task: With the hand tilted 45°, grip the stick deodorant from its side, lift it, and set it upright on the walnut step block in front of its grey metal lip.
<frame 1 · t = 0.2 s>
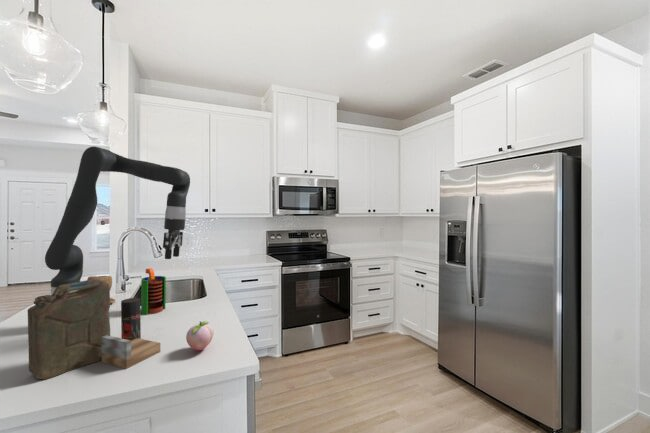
hand: (172, 257, 126), 28 cm above the worktop, tool pointing down, fingers open, 8 cm apart
step: (132, 356, 101), on the worktop
motor: (152, 311, 146), on the worktop
canister: (72, 366, 95), on the worktop
deodorant: (131, 341, 113), on the worktop
stone cup: (96, 305, 155), on the worktop
decorative fruit: (199, 351, 106), on the worktop
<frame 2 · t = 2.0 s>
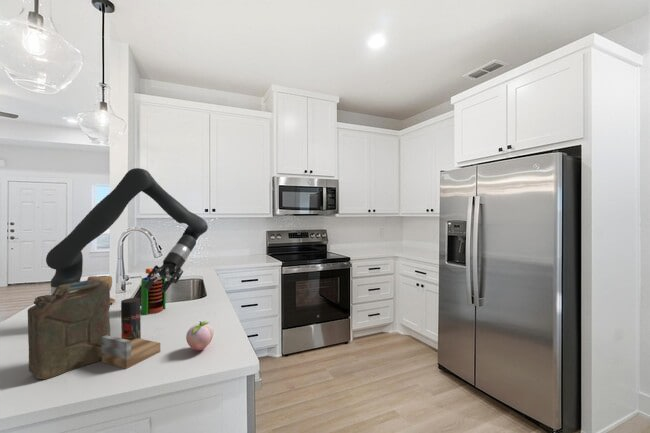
hand: (154, 289, 122), 16 cm above the worktop, tool tilted 45°, fingers open, 8 cm apart
nothing on the worktop moved.
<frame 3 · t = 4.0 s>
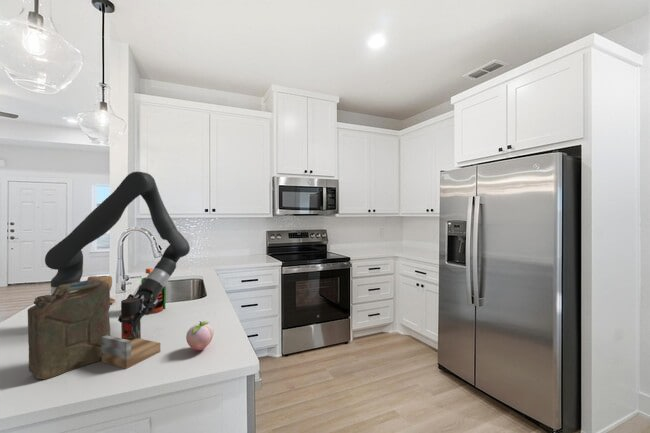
hand: (126, 322, 111), 7 cm above the worktop, tool tilted 45°, fingers closed on deodorant, 6 cm apart
deodorant: (131, 341, 113), on the worktop, touching gripper
everything else where it was.
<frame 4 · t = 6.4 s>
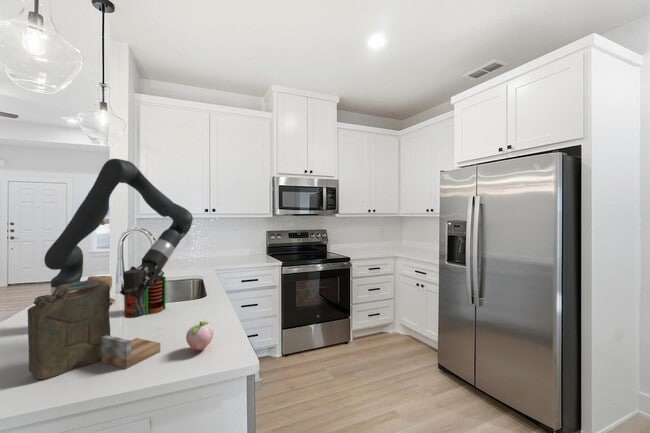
hand: (129, 295, 103), 20 cm above the worktop, tool tilted 45°, fingers closed on deodorant, 6 cm apart
deodorant: (135, 315, 105), point 12 cm above the worktop, touching gripper
everything else where it was.
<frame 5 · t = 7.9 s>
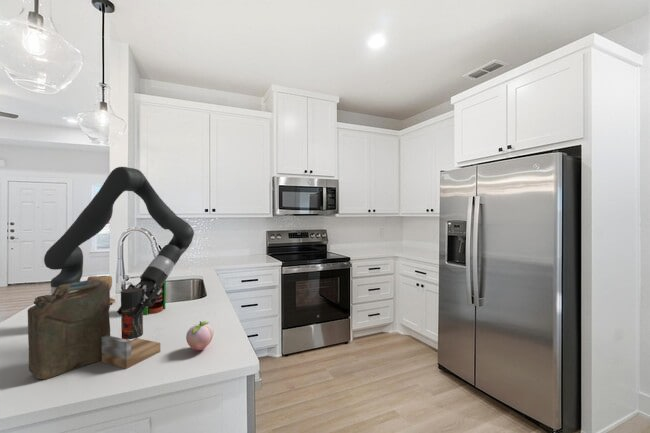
hand: (127, 315, 99), 14 cm above the worktop, tool tilted 45°, fingers closed on deodorant, 6 cm apart
deodorant: (132, 336, 101), point 7 cm above the worktop, touching gripper
everything else where it was.
when the fingers open (12 cm above the worktop, at t = 9.0 s): deodorant drops 1 cm, resting on step.
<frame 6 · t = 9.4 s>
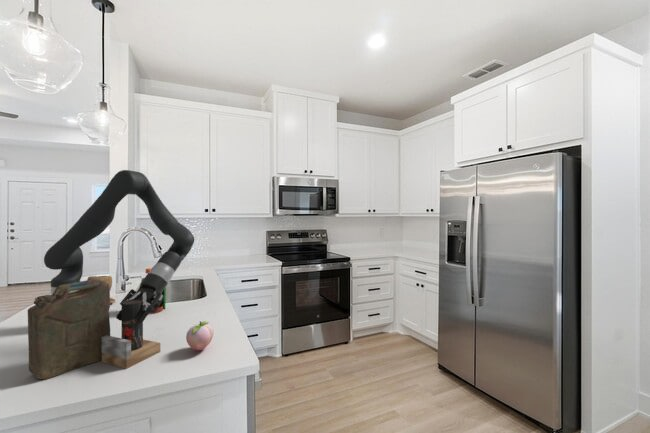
hand: (127, 321, 100), 12 cm above the worktop, tool tilted 45°, fingers open, 8 cm apart
deodorant: (132, 347, 101), point 3 cm above the worktop, touching step
everything else where it was.
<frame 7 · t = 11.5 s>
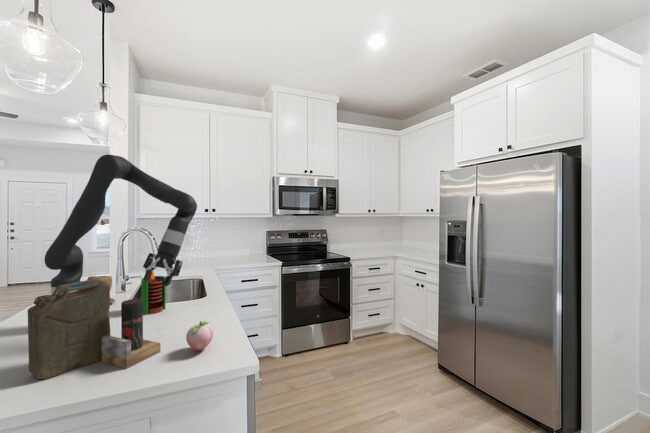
hand: (155, 283, 118), 20 cm above the worktop, tool tilted 20°, fingers open, 8 cm apart
nothing on the worktop moved.
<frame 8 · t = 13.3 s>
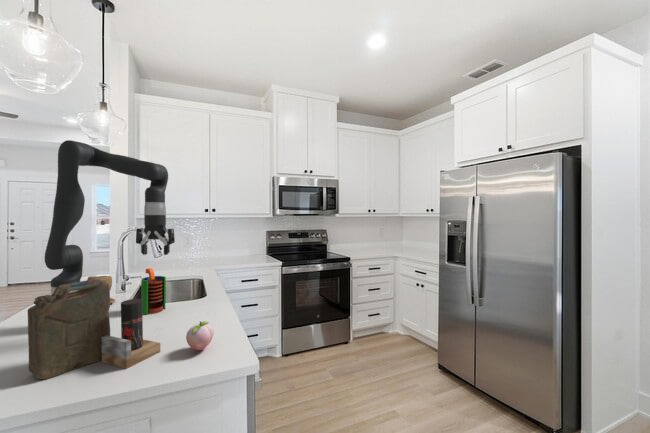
hand: (155, 254, 123), 30 cm above the worktop, tool pointing down, fingers open, 8 cm apart
nothing on the worktop moved.
at the end: deodorant 0.3 cm from the step (horizontally); deodorant tilted 0°; deodorant touching step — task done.
